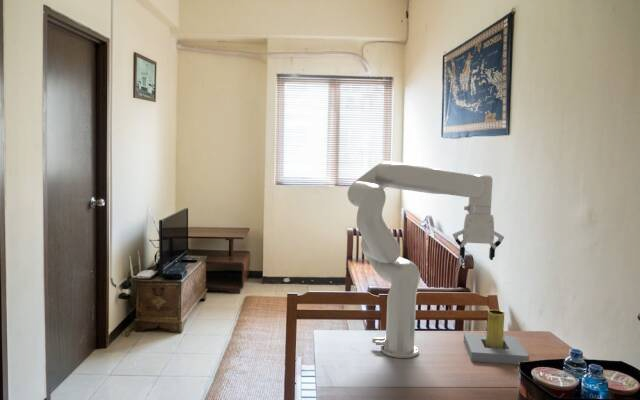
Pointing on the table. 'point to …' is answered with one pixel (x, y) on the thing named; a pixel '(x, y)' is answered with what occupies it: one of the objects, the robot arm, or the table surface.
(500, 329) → the vase
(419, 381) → the table surface
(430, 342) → the table surface
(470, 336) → the socket plate
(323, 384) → the table surface
